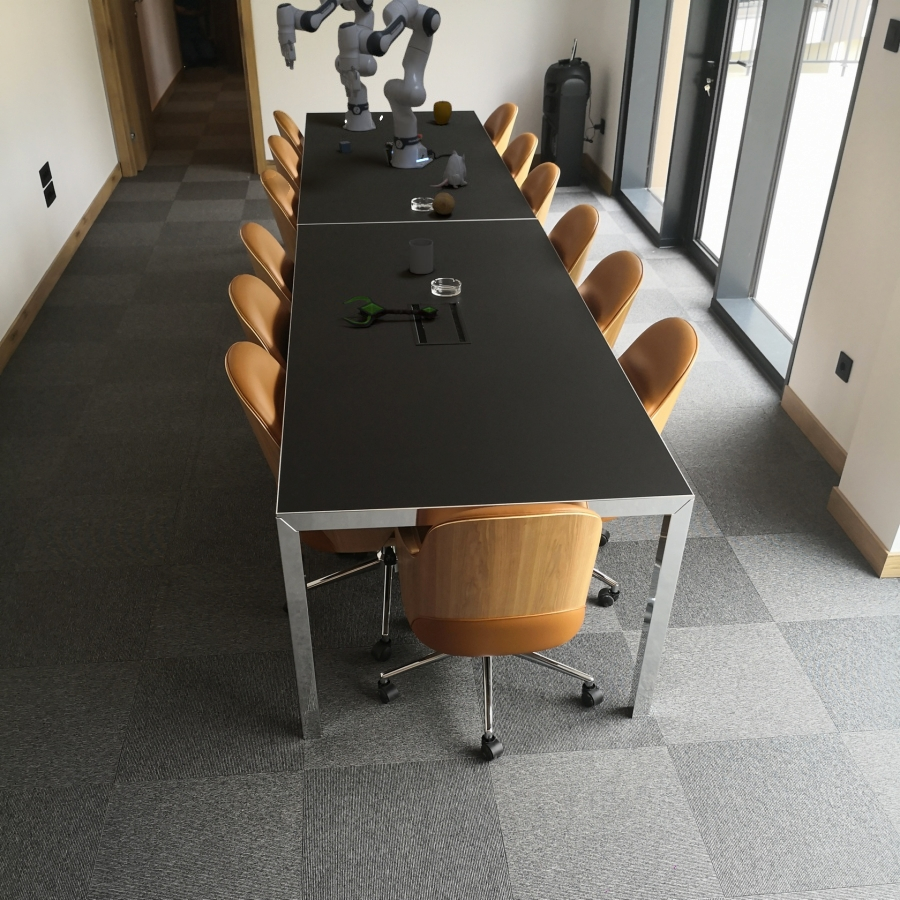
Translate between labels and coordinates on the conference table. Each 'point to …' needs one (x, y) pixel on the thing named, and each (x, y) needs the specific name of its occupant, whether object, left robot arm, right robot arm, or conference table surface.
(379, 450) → the conference table surface
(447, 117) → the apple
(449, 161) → the toy
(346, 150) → the block
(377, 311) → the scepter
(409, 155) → the right robot arm
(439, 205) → the potato
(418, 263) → the cup
